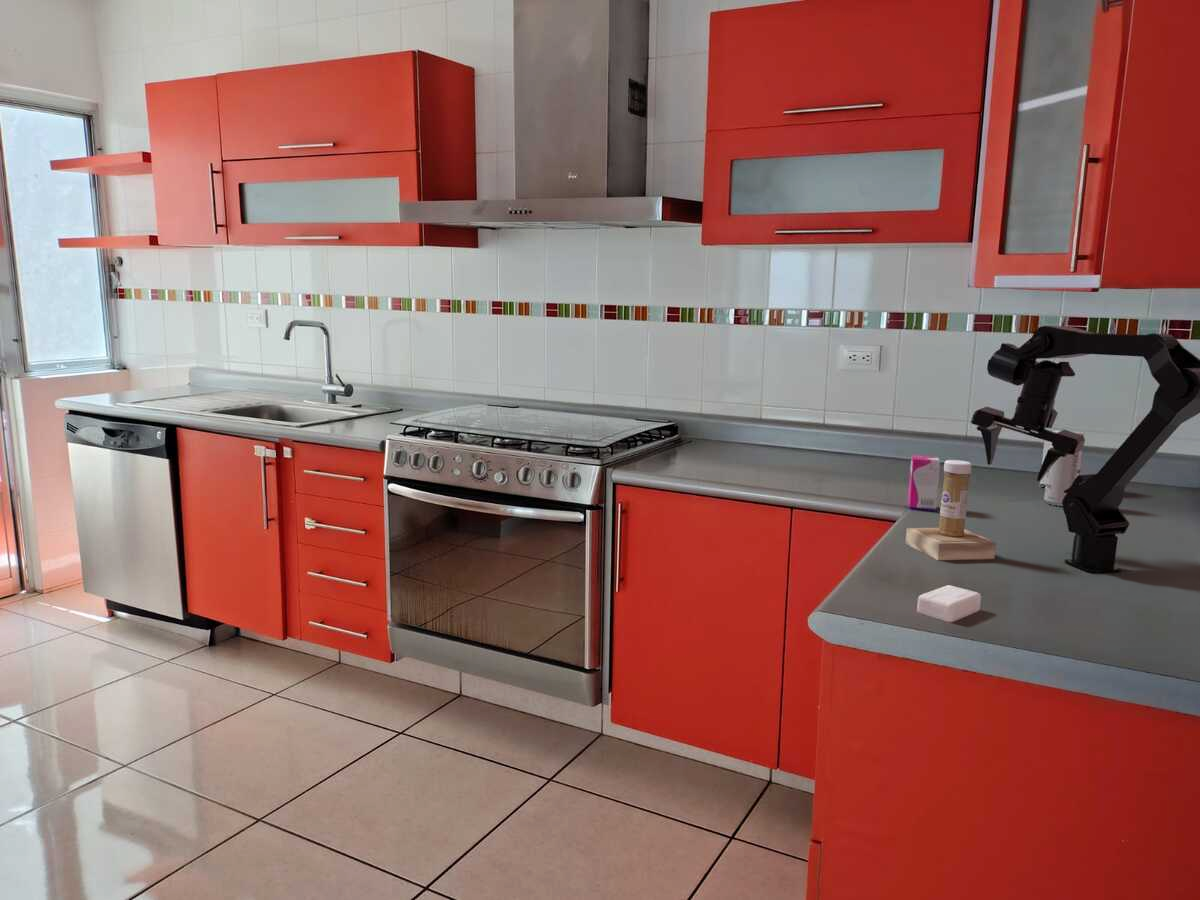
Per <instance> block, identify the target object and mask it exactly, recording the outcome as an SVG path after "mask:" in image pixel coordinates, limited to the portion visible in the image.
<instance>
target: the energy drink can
mask: <svg viewBox="0 0 1200 900" xmlns="http://www.w3.org/2000/svg"><path fill="white" fill-rule="evenodd" d="M1052 447H1053V446H1052V445H1051V446H1050V448H1052ZM1078 455H1079V452H1078V453H1076V454H1074V455H1071V454H1069V455H1067V456H1066V457H1060V458H1059V459H1058V460H1057V461H1056V462H1055V463H1054V464H1053V465H1052V467H1051V468H1050V469H1049V470H1048V472H1047V478H1046V487H1045V488H1044V498H1043V499H1044V501H1045V502H1046V501H1047V502H1050V503H1055V504H1062V500H1063V498H1064V496H1065V495H1066V494H1067V493H1064V491H1065V490H1067V489H1068V488H1069V487H1070V486H1071V485H1072V484H1073V482H1074V480H1075V479H1076V472H1077V464H1078Z"/></svg>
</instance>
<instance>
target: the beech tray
mask: <svg viewBox="0 0 1200 900" xmlns="http://www.w3.org/2000/svg"><path fill="white" fill-rule="evenodd" d="M938 529H939V527H906V533H905V543H904V544H905V545H907V546H908V547H911V548H913V549H915V550H917V551H918V552H921V553H923V554H925V555H927V556H928V557H931V558H932V557H933V559H935V560H936V561H957V560H958V561H959V560H961V561H962V560H994V559H995V555H996V548H997V547H996V546H997V545H996V544H997V542H996V541H994V540H991V539H988V538H986V537H984V536H981V535H979V534H977V533H974V532H972V531H969V530H967V529H965V528H964V535H963V536H958V537H952V536H946V535H942V534H940V533H939V532H938Z"/></svg>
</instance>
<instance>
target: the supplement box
mask: <svg viewBox="0 0 1200 900" xmlns="http://www.w3.org/2000/svg"><path fill="white" fill-rule="evenodd" d="M940 467H941V460H940V459H939V458H938V456H925V455H911V457H910V469H909V483H908V496H907V506H908V509H909V510H910V511H911V510H912V511H913V510H915V511H924V512H925V511H928V512H937V507H938V506H937V505H938V494H939V493H938V492H939V483H940V481H939V480H940V471H941V470H940Z"/></svg>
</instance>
